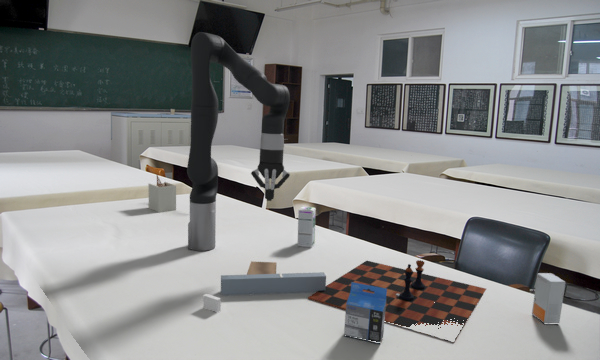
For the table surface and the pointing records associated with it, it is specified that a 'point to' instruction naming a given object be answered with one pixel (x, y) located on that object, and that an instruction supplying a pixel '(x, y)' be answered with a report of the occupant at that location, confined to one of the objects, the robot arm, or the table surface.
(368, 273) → the chessboard
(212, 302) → the eraser
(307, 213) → the syrup box
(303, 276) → the board
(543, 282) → the skincare box
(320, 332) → the table surface
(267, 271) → the block
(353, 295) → the label tape cartridge
